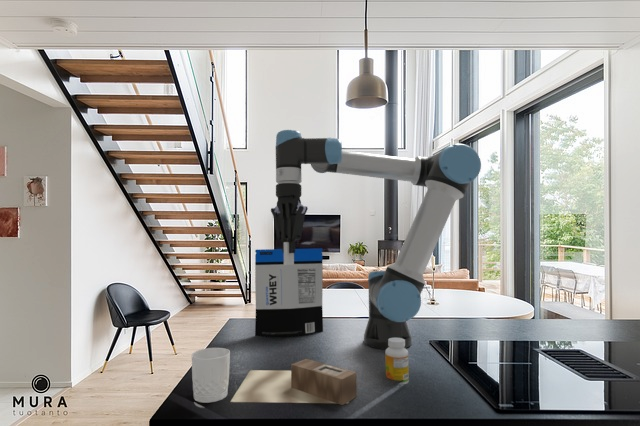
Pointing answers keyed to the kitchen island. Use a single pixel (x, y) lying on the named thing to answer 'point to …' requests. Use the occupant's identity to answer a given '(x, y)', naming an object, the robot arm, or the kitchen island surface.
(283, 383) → the board
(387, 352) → the supplement bottle
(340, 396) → the block
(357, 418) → the kitchen island surface
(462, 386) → the kitchen island surface
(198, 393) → the white cup
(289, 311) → the protein powder
